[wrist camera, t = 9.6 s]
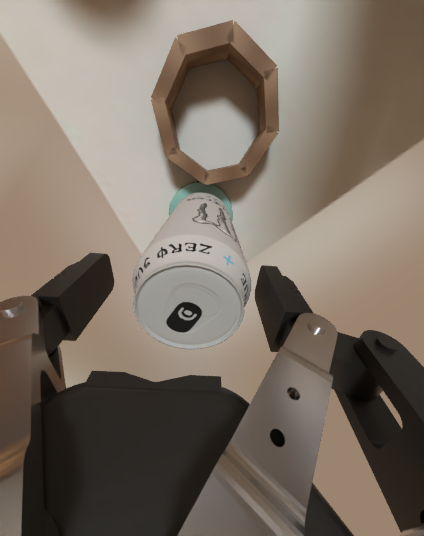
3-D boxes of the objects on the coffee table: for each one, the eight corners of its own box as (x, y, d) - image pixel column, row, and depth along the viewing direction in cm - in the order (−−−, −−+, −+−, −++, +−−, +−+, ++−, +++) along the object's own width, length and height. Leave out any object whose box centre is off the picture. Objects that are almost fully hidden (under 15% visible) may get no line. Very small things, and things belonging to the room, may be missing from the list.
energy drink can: (240, 212, 21) (288, 296, 8) (209, 253, 24) (208, 371, 11) (192, 178, 20) (157, 216, 6) (165, 227, 22) (98, 326, 9)
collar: (200, 8, 14) (197, -19, 12) (292, 103, 17) (304, 95, 15) (144, 137, 18) (135, 135, 16) (227, 198, 21) (229, 202, 19)
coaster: (190, 167, 19) (190, 167, 19) (245, 207, 21) (245, 208, 21) (158, 224, 22) (157, 225, 22) (209, 255, 24) (209, 256, 24)
